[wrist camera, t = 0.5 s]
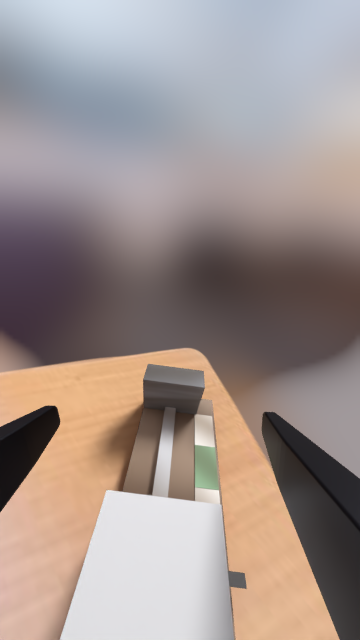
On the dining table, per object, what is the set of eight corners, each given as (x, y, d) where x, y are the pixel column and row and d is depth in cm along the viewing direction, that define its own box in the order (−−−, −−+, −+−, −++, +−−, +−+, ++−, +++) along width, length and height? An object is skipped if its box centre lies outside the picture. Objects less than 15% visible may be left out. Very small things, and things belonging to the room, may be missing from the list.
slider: (257, 678, 8) (479, 879, 3) (87, 656, 8) (-29, 816, 3) (235, 517, 12) (304, 471, 7) (124, 502, 12) (107, 445, 7)
